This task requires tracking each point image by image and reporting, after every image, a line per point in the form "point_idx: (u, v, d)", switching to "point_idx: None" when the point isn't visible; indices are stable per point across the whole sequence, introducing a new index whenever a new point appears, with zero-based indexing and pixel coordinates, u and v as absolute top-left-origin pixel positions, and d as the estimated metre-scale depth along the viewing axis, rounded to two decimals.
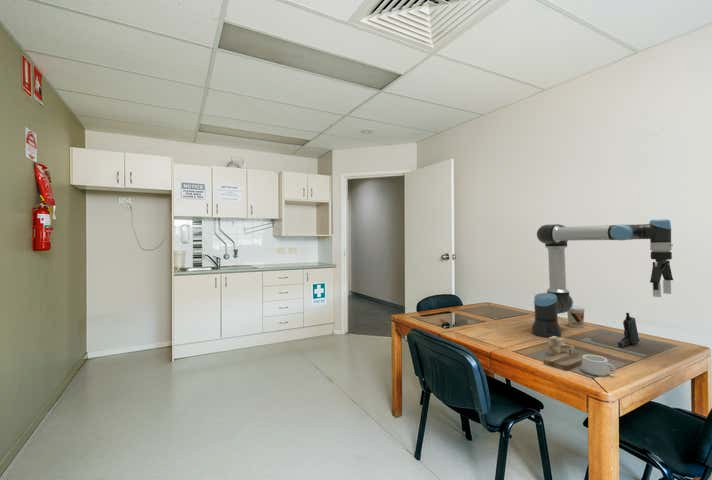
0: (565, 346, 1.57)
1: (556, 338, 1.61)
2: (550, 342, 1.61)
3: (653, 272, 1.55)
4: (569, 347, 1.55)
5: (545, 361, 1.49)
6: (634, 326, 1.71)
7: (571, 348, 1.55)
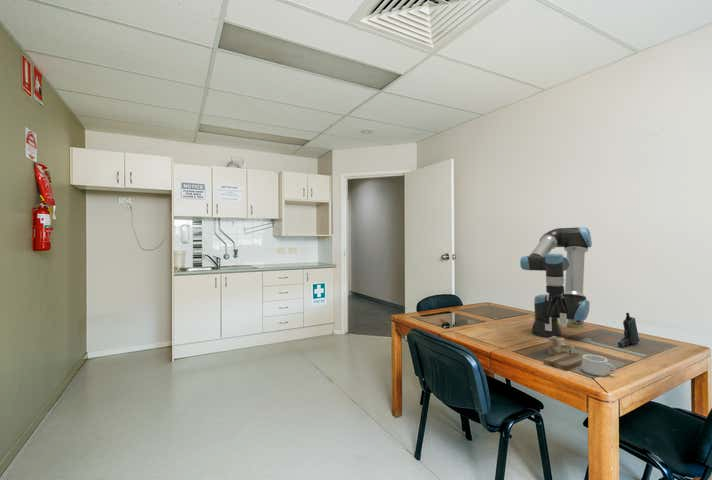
0: (565, 346, 1.57)
1: (556, 338, 1.61)
2: (550, 342, 1.61)
3: (544, 306, 1.57)
4: (569, 347, 1.55)
5: (545, 361, 1.49)
6: (634, 326, 1.71)
7: (571, 348, 1.55)
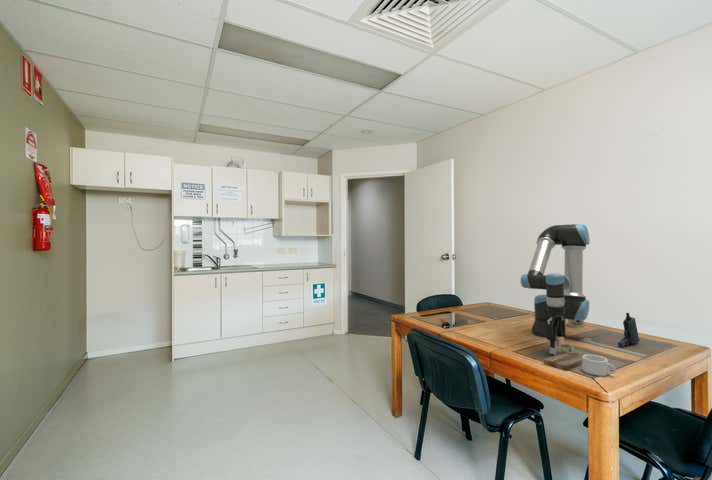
0: (565, 345, 1.57)
1: (556, 337, 1.61)
2: None
3: (548, 330, 1.58)
4: (569, 346, 1.55)
5: (545, 361, 1.49)
6: (634, 326, 1.71)
7: (571, 347, 1.55)
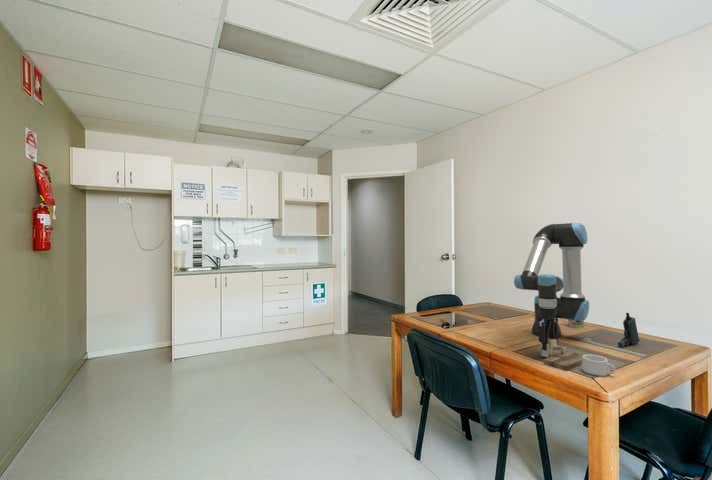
0: (557, 348, 1.53)
1: (548, 339, 1.57)
2: None
3: (540, 333, 1.55)
4: (561, 349, 1.52)
5: (545, 361, 1.49)
6: (634, 326, 1.71)
7: (563, 350, 1.51)
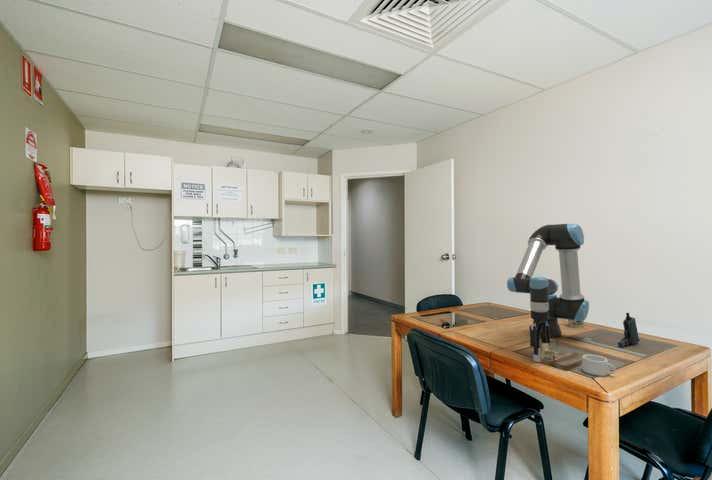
0: (549, 352, 1.50)
1: (540, 343, 1.53)
2: None
3: (531, 337, 1.51)
4: (553, 353, 1.48)
5: (545, 361, 1.49)
6: (634, 326, 1.71)
7: (555, 354, 1.47)
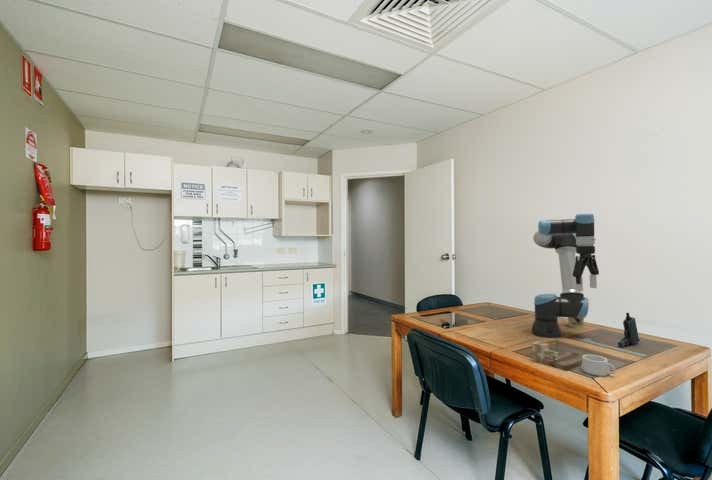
0: (549, 352, 1.50)
1: (540, 343, 1.53)
2: (534, 348, 1.54)
3: (575, 266, 1.55)
4: (553, 353, 1.48)
5: (545, 361, 1.49)
6: (634, 326, 1.71)
7: (555, 354, 1.47)
